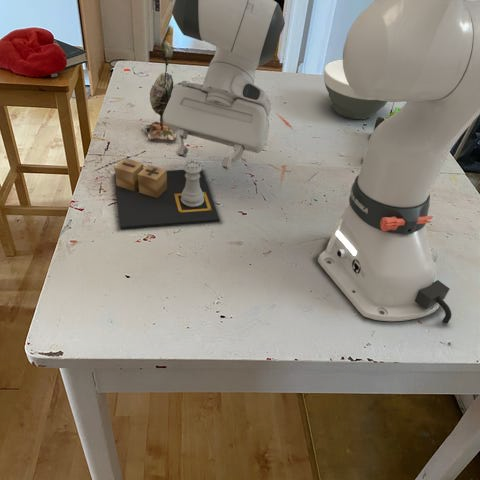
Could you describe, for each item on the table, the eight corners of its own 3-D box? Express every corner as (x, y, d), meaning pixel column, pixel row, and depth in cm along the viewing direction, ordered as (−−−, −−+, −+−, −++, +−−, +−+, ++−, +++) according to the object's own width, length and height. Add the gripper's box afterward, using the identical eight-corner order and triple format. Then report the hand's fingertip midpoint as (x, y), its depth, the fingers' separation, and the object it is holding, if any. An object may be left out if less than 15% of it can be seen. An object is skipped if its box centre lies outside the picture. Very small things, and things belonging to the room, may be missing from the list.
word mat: (219, 221, 88) (219, 218, 87) (120, 229, 84) (120, 226, 83) (201, 171, 99) (201, 168, 99) (114, 176, 96) (113, 172, 95)
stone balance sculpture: (184, 123, 113) (183, 30, 99) (174, 145, 106) (171, 48, 91) (151, 119, 114) (145, 25, 99) (138, 141, 106) (130, 42, 91)
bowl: (308, 95, 131) (315, 58, 124) (373, 95, 134) (383, 59, 127) (330, 128, 118) (339, 88, 111) (402, 127, 121) (415, 89, 114)
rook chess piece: (178, 206, 89) (178, 168, 83) (183, 194, 92) (182, 155, 86) (202, 209, 89) (203, 171, 83) (205, 196, 92) (206, 158, 86)
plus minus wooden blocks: (157, 198, 90) (156, 179, 87) (116, 185, 92) (113, 166, 89) (167, 188, 93) (166, 169, 90) (127, 176, 95) (125, 157, 92)
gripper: (170, 70, 87) (147, 142, 88) (274, 95, 83) (249, 170, 84) (181, 86, 93) (160, 154, 94) (279, 111, 89) (255, 181, 90)
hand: (203, 162), depth 89 cm, fingers open, 8 cm apart
